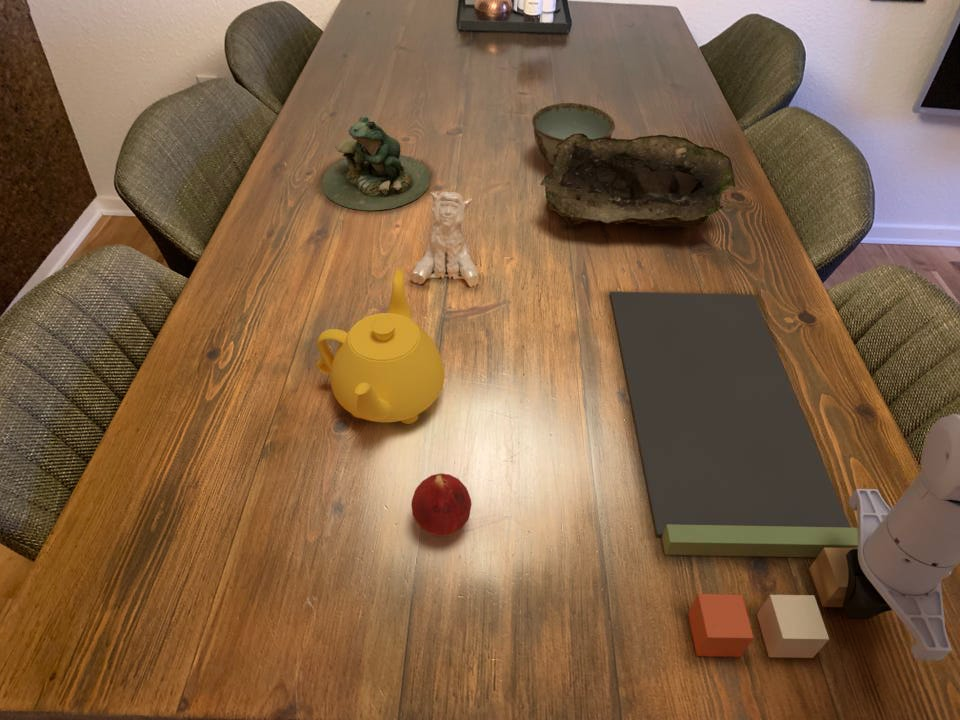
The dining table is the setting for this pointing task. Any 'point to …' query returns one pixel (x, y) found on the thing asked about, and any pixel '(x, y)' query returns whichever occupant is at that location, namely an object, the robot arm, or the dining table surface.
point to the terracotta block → (720, 625)
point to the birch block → (831, 576)
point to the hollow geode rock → (637, 180)
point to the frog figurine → (373, 171)
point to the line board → (722, 431)
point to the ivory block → (792, 626)
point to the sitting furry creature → (447, 243)
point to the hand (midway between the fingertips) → (855, 612)
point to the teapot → (384, 364)
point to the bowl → (568, 126)
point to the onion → (441, 504)
